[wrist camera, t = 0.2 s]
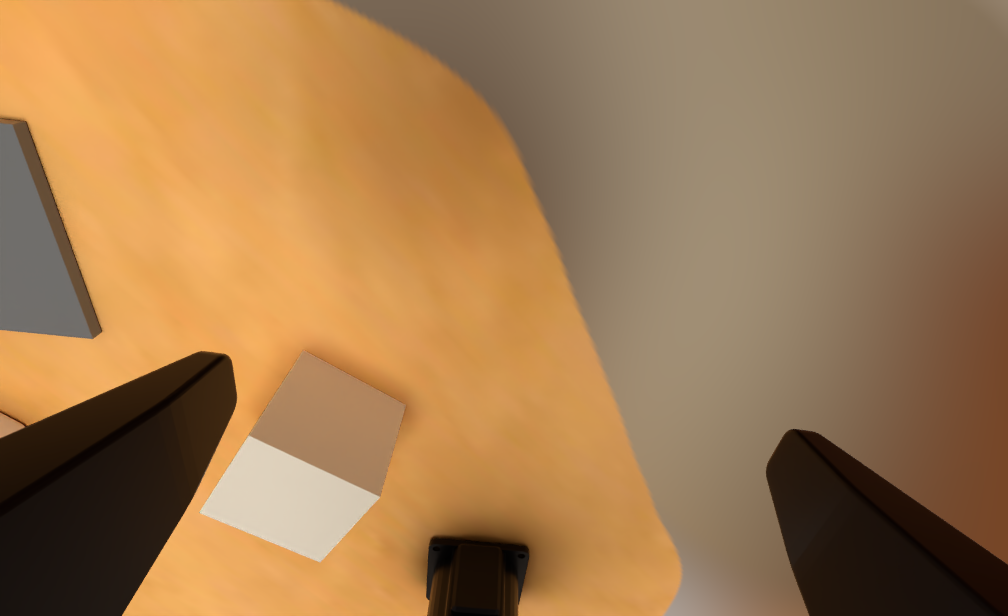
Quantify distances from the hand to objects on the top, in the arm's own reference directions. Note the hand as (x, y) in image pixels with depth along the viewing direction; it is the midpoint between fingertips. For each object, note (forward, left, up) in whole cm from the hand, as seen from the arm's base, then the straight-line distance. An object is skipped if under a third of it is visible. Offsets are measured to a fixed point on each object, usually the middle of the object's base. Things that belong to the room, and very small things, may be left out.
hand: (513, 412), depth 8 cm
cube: (-14, +8, -14) cm, 22 cm away
